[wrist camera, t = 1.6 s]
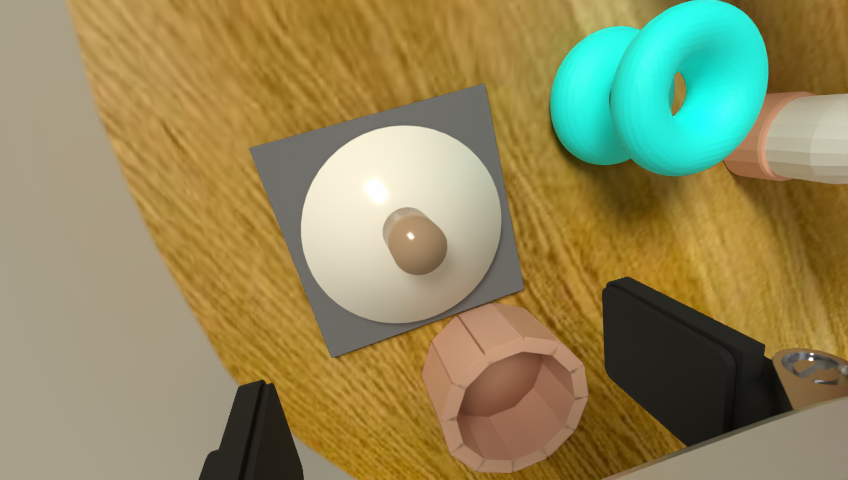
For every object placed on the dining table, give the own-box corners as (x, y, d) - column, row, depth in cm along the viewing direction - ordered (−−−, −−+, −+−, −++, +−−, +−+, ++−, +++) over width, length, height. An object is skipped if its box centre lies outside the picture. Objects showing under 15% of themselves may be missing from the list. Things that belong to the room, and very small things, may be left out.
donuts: (776, 156, 26) (638, 197, 24) (655, 147, 35) (550, 176, 34) (787, -23, 23) (629, 11, 21) (651, 19, 32) (535, 44, 30)
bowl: (537, 285, 36) (576, 316, 31) (556, 393, 40) (594, 437, 34) (408, 332, 34) (425, 373, 29) (441, 439, 38) (462, 494, 33)
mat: (481, 84, 30) (484, 83, 30) (521, 286, 36) (524, 289, 35) (250, 147, 28) (248, 148, 27) (331, 354, 33) (331, 358, 33)
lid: (474, 101, 30) (506, 97, 25) (511, 282, 35) (543, 309, 30) (269, 159, 28) (257, 168, 23) (339, 343, 33) (343, 384, 28)
